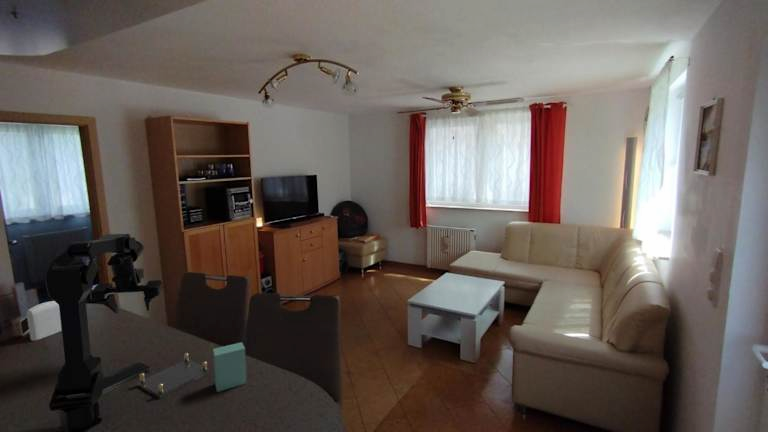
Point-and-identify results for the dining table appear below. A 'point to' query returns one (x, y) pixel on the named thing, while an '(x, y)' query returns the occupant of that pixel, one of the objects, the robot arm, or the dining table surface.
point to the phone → (124, 376)
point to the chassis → (173, 377)
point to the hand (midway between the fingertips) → (133, 311)
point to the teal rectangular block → (229, 366)
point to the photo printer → (44, 320)
